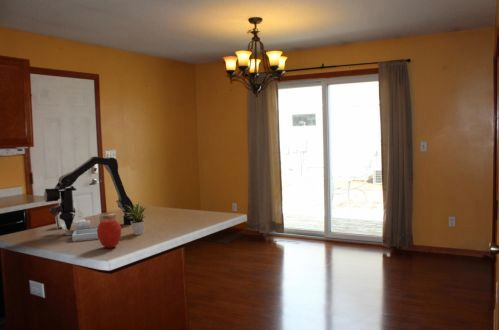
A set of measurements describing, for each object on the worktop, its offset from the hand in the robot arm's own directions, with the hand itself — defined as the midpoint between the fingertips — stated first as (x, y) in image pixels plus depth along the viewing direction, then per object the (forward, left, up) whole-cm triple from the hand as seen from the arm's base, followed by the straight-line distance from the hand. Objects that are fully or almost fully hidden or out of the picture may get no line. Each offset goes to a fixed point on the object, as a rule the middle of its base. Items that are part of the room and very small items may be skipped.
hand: (68, 229), depth 216 cm
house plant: (-33, +15, -2) cm, 37 cm away
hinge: (+1, -23, -3) cm, 23 cm away
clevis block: (-11, 0, -2) cm, 11 cm away
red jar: (-20, +39, -2) cm, 44 cm away
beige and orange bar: (-4, 0, 0) cm, 4 cm away
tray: (-12, +13, -2) cm, 18 cm away
